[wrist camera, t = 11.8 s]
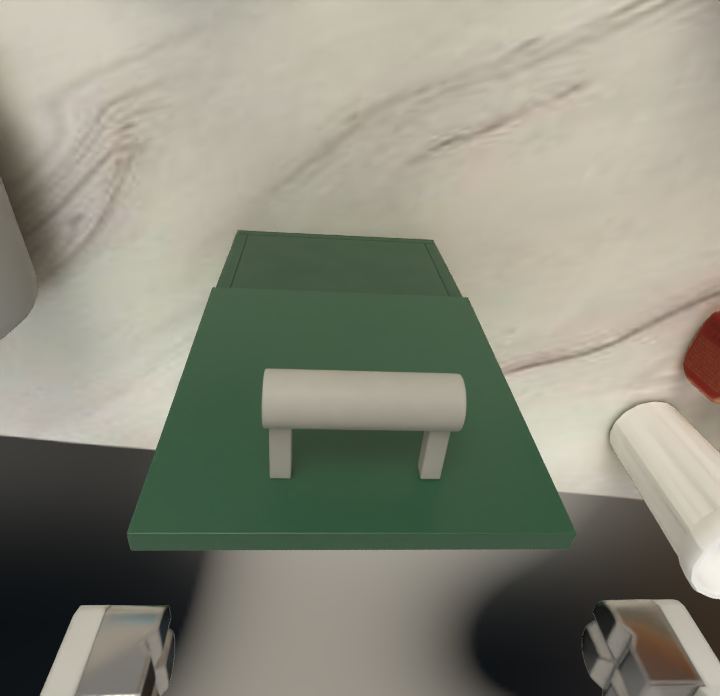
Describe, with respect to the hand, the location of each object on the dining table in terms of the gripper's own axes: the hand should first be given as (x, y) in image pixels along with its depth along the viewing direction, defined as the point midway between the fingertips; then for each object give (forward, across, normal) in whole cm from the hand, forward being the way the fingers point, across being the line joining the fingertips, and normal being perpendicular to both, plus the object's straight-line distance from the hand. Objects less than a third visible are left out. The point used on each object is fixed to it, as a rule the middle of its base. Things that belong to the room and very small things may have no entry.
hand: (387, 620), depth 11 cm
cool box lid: (+13, 0, +4) cm, 13 cm away
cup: (+31, -28, +19) cm, 46 cm away
